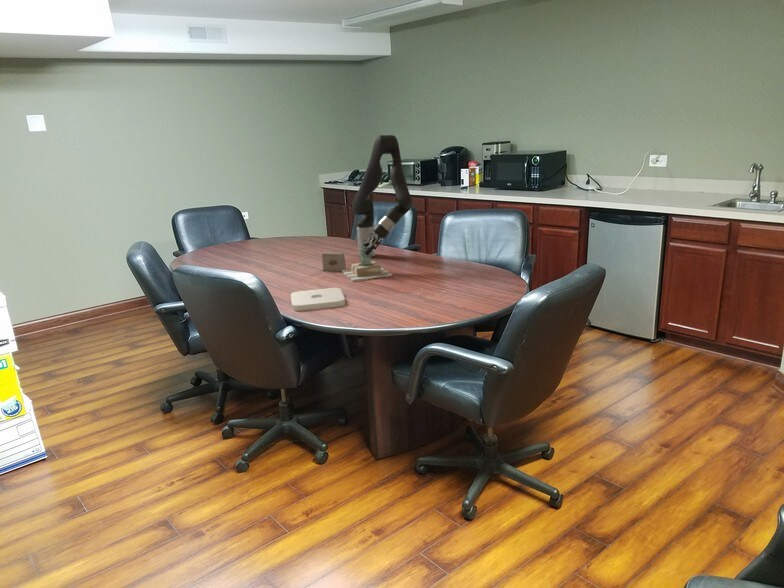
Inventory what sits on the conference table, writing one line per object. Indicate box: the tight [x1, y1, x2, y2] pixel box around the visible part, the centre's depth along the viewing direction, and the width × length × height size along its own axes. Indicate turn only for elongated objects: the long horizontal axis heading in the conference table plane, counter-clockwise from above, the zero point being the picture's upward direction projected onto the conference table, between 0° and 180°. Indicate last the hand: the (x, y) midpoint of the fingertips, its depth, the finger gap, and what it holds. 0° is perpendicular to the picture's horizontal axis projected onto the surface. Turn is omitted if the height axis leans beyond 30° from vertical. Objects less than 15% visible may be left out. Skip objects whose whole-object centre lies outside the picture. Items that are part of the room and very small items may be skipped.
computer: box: [290, 287, 346, 312], centre depth 249 cm, size 22×22×3 cm
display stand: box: [341, 260, 393, 283], centre depth 289 cm, size 22×20×5 cm
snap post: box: [358, 246, 372, 266], centre depth 287 cm, size 4×4×9 cm
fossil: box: [321, 251, 347, 272], centre depth 300 cm, size 12×4×10 cm, turn 70°
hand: (363, 252), depth 287 cm, fingers open, 8 cm apart
